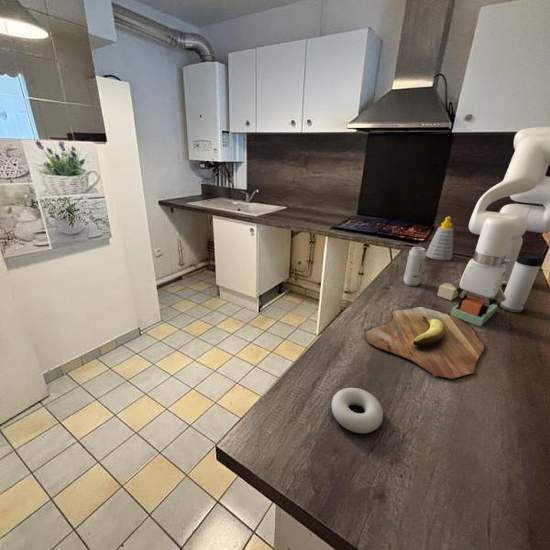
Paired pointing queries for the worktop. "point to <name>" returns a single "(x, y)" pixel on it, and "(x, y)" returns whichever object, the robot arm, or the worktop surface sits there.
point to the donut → (355, 420)
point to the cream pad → (447, 291)
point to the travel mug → (521, 281)
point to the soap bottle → (442, 242)
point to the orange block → (472, 306)
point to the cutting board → (430, 341)
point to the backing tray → (471, 318)
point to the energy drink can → (414, 266)
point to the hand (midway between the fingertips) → (471, 310)
